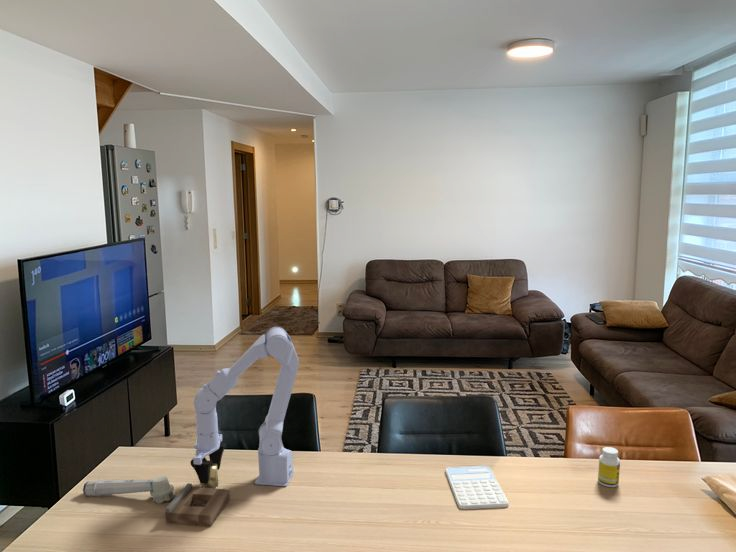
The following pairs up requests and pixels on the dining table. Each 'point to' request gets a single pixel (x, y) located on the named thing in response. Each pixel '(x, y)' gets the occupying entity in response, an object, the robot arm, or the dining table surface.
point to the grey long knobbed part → (131, 488)
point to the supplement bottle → (609, 467)
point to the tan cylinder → (212, 477)
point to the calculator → (476, 487)
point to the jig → (199, 516)
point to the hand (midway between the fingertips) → (210, 475)
